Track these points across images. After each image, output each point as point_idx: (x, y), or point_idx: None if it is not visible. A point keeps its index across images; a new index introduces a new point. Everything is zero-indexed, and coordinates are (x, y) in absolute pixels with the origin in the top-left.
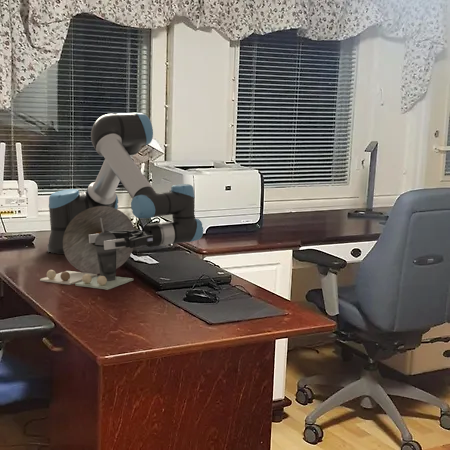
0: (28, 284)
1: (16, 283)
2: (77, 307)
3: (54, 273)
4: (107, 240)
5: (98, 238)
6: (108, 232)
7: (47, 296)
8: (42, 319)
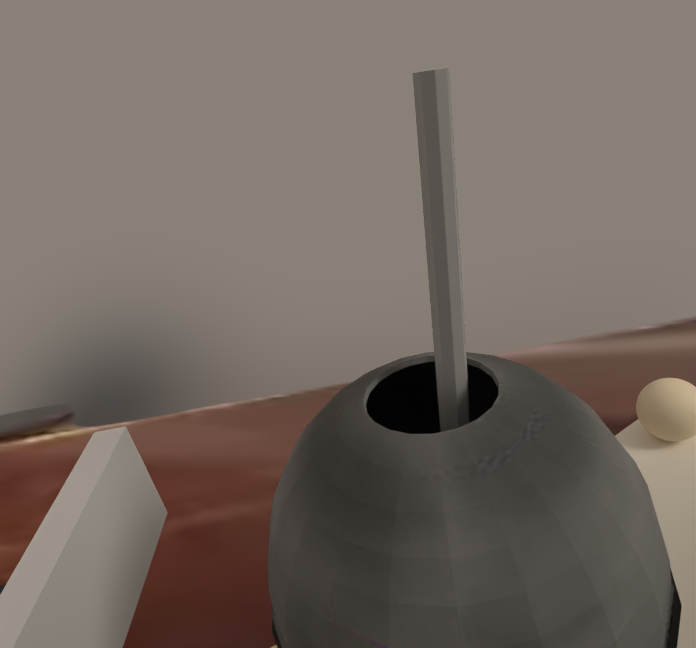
0: (599, 365)
1: (639, 331)
2: (21, 519)
3: (652, 415)
4: (105, 462)
5: (372, 391)
6: (361, 435)
7: (304, 428)
8: (21, 419)
